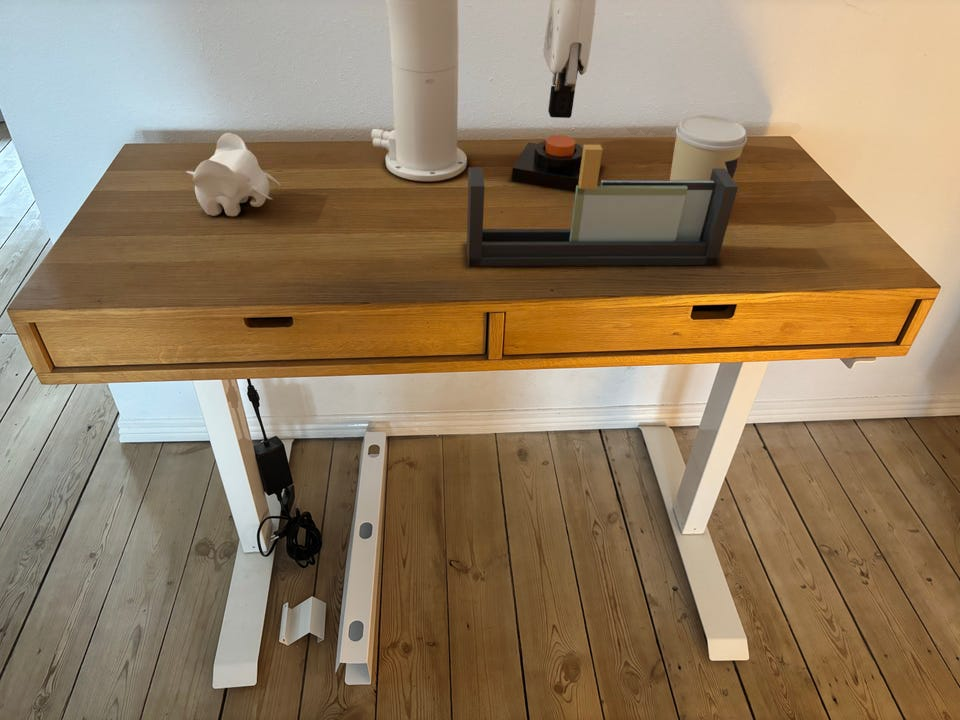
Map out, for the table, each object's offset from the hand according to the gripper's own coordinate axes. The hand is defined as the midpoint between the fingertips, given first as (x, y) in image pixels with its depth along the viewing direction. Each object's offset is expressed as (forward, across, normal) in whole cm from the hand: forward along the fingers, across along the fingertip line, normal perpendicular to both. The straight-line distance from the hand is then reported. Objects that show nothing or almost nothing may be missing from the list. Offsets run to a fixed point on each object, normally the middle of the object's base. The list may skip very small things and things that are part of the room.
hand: (559, 115), depth 107 cm
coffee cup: (+9, +11, +19) cm, 24 cm away
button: (+6, 0, +1) cm, 6 cm away
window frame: (+9, +24, +2) cm, 26 cm away
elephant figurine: (+10, +11, -46) cm, 48 cm away
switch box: (+9, 0, +1) cm, 9 cm away
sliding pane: (+7, +24, +5) cm, 26 cm away
